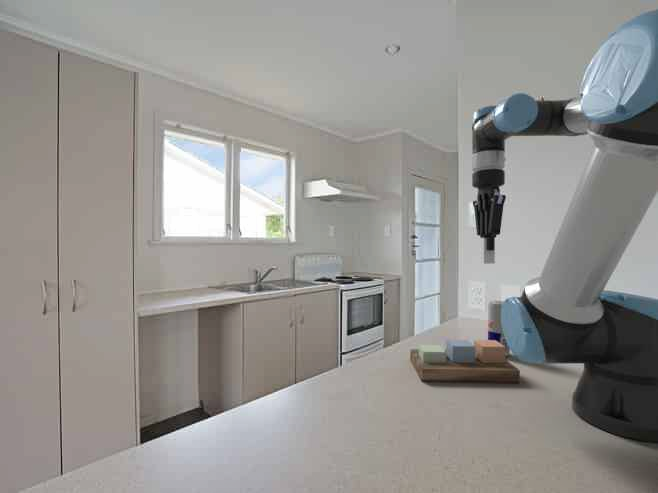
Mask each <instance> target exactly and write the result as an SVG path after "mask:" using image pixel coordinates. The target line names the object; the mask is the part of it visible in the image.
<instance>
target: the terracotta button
mask: <svg viewBox="0 0 658 493" xmlns="http://www.w3.org/2000/svg"><path fill="white" fill-rule="evenodd" d="M473 345H474V346H476V351H475V357H476V358H477V359H478V360H479V361H480V362H482V363H505V360H506V356H505V346H503V345H502V344H500V343H499V342H497V341H496V340H488V339H473Z"/></svg>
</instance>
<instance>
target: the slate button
mask: <svg viewBox="0 0 658 493" xmlns="http://www.w3.org/2000/svg"><path fill="white" fill-rule="evenodd" d="M445 350H446V355H447V357H448V358H449V359H450V360H451V361H452V362H453V363H475V351H476V346H474V343H472V342H471V341H469V339H446V340H445Z"/></svg>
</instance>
